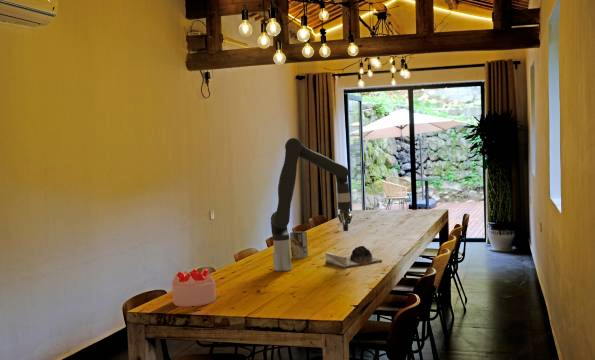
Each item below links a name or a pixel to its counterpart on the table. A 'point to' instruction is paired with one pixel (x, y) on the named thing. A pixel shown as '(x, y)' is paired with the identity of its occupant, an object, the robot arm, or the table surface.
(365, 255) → the black rock
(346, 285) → the table surface
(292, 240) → the coffee box
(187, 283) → the cake
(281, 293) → the table surface
